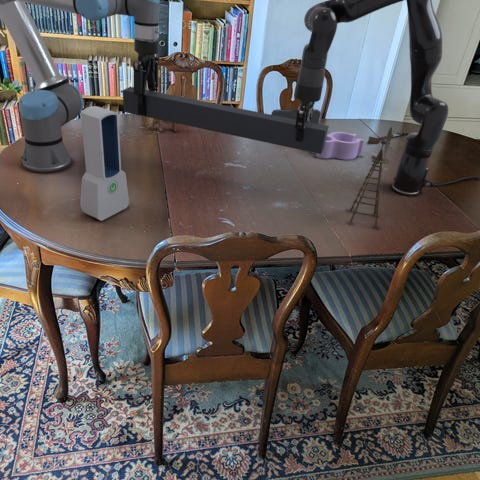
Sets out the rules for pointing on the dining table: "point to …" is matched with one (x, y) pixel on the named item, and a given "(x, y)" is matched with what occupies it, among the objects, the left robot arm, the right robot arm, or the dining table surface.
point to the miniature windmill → (377, 160)
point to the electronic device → (102, 165)
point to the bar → (227, 120)
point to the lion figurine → (160, 124)
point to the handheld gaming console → (293, 114)
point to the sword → (391, 136)
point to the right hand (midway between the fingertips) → (300, 137)
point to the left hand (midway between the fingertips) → (146, 112)
